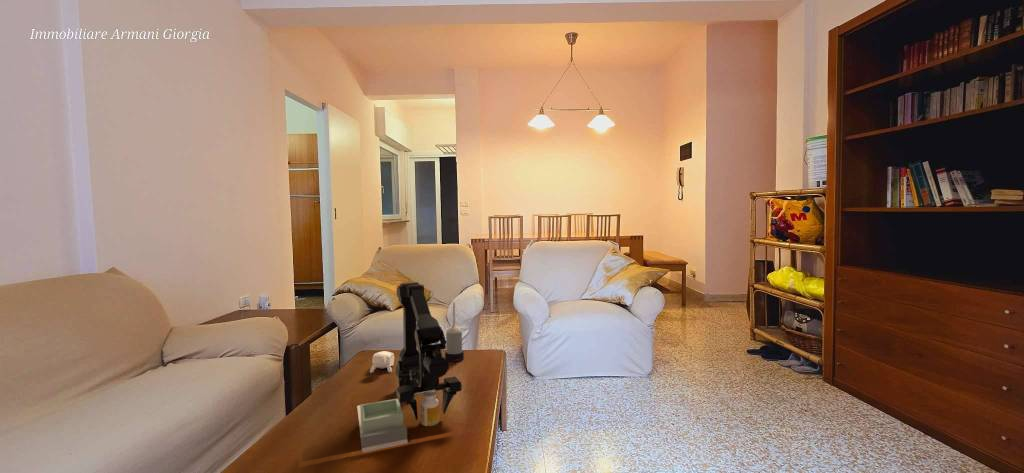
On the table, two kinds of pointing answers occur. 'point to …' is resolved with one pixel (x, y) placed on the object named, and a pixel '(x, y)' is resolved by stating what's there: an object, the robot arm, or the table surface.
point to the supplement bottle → (429, 409)
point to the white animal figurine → (382, 361)
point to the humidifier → (454, 342)
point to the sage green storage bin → (381, 415)
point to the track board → (381, 437)
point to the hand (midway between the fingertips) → (430, 416)
